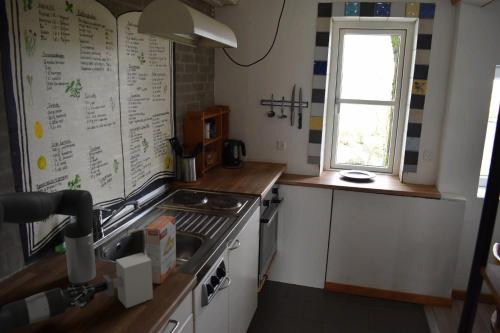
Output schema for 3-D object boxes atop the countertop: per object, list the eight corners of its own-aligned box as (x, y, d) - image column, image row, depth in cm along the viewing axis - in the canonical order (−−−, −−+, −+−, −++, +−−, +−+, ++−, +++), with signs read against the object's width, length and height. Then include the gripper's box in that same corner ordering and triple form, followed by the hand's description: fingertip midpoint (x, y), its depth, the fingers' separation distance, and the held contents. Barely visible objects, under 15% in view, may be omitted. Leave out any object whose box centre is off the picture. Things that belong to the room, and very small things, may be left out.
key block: (118, 298, 127) (115, 259, 124) (143, 289, 133) (142, 252, 130) (126, 308, 122) (124, 268, 119) (152, 298, 127) (151, 259, 124)
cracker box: (162, 285, 136) (160, 230, 131) (146, 283, 137) (144, 228, 132) (177, 266, 149) (176, 216, 144) (162, 265, 150) (161, 214, 146)
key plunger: (103, 289, 122) (102, 275, 121) (126, 282, 127) (125, 268, 126) (109, 296, 118) (108, 281, 117) (132, 288, 123) (131, 274, 122)
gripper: (49, 304, 103) (113, 283, 114) (38, 284, 113) (98, 266, 124) (51, 328, 105) (114, 306, 116) (40, 306, 115) (99, 287, 125)
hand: (105, 285), depth 120 cm, fingers closed
